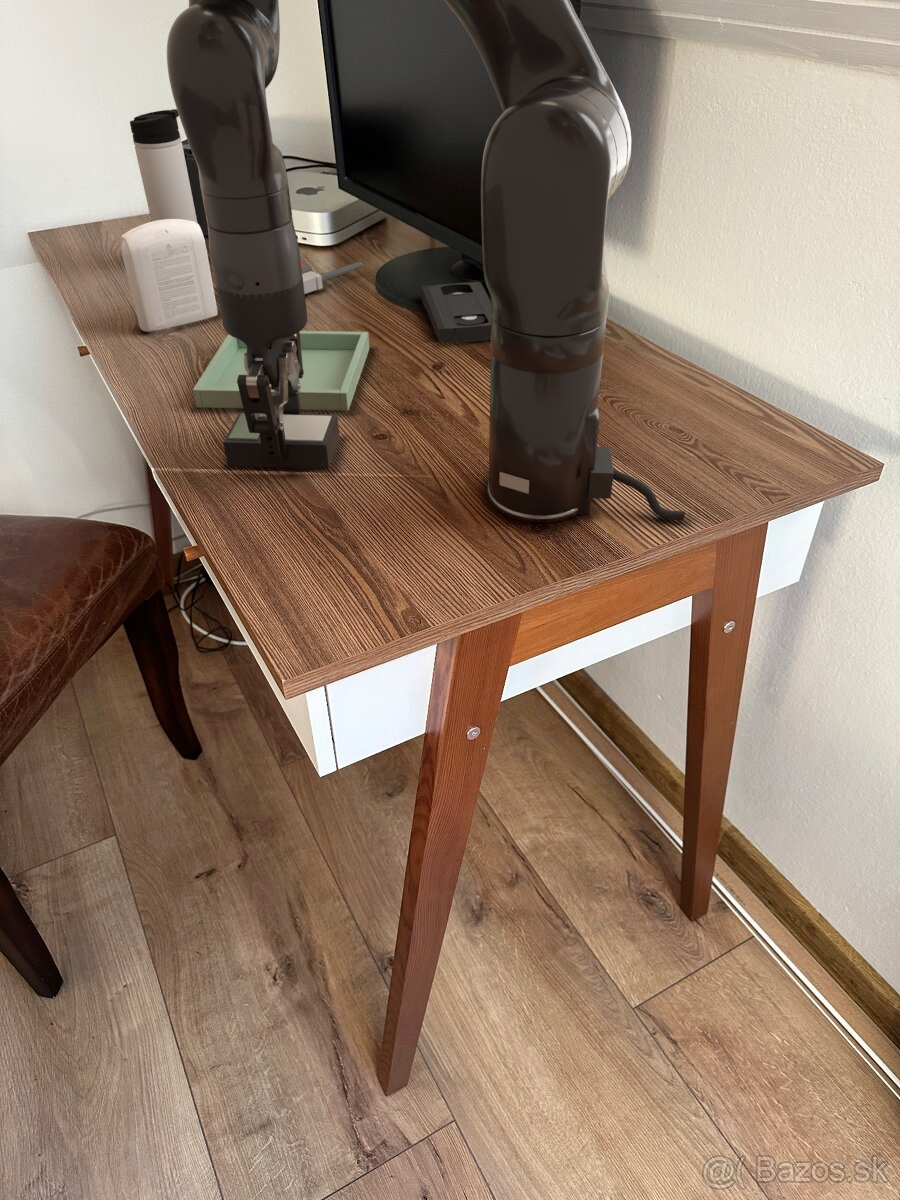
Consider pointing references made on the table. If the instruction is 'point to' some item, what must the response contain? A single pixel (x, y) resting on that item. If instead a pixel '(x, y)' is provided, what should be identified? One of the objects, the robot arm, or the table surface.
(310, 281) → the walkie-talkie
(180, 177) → the travel mug
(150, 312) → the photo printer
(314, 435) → the black rectangular box
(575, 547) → the table surface
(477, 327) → the vhs tape
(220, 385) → the tray
